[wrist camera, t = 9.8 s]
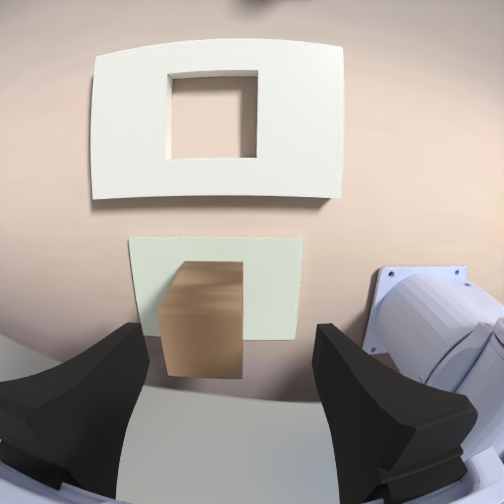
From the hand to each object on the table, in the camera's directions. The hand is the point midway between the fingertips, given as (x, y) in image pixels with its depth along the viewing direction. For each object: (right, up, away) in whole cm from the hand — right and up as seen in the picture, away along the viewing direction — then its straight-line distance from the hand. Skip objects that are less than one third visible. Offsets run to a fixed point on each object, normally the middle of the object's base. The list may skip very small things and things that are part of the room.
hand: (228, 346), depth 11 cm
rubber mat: (-2, +1, +9) cm, 10 cm away
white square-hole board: (-1, +12, +6) cm, 14 cm away
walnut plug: (-2, +1, +9) cm, 9 cm away
